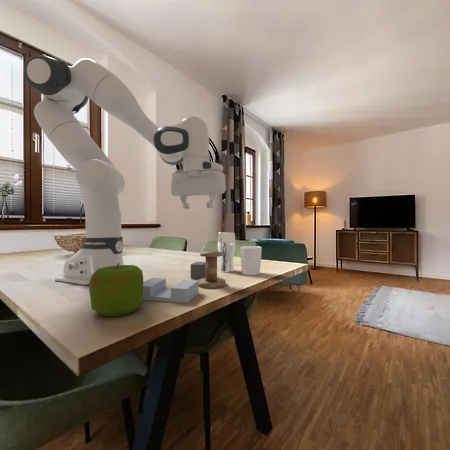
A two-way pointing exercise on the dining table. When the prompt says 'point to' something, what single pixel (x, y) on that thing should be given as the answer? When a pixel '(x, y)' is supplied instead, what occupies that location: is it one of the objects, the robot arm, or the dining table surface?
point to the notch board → (169, 290)
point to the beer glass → (226, 251)
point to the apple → (116, 290)
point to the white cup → (250, 260)
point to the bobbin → (211, 271)
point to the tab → (198, 270)
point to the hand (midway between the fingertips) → (197, 208)
